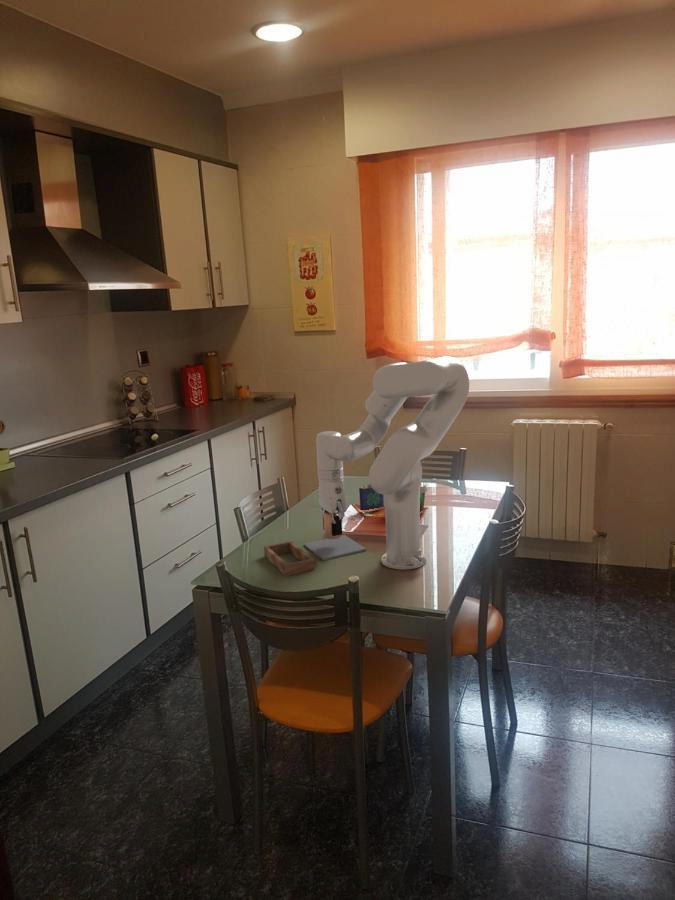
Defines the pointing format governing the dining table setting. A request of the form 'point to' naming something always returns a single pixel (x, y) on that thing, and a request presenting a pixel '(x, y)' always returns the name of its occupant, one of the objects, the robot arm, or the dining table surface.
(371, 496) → the flask
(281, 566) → the pocket frame
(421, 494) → the food container
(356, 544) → the rubber mat
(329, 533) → the clay cylinder
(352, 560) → the dining table surface
